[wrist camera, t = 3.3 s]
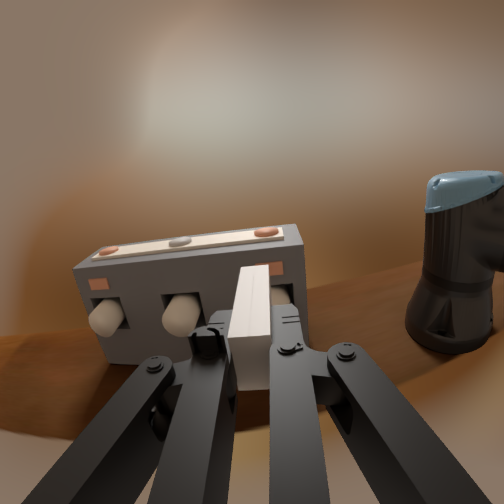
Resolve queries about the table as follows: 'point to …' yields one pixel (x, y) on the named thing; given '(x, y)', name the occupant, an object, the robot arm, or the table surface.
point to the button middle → (182, 314)
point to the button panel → (185, 283)
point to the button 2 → (280, 294)
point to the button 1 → (107, 316)
